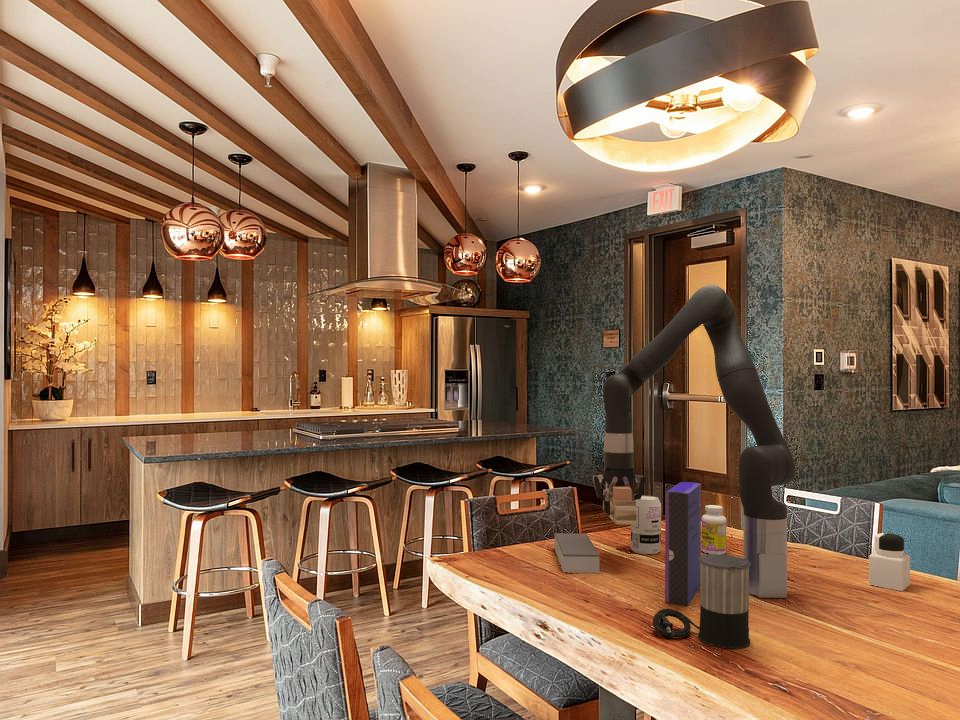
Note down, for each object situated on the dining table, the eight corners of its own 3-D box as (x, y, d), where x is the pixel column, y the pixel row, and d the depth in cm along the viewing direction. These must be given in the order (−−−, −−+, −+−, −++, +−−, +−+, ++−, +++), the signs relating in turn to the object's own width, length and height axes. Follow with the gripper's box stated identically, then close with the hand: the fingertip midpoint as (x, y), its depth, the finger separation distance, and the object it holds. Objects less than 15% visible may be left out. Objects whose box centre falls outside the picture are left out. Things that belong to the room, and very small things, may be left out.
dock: (599, 573, 175) (599, 554, 175) (563, 572, 175) (563, 554, 176) (586, 549, 199) (586, 533, 199) (554, 549, 199) (554, 533, 200)
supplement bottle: (696, 550, 199) (696, 505, 200) (714, 548, 202) (714, 503, 202) (713, 556, 193) (713, 509, 194) (731, 554, 196) (731, 507, 196)
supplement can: (637, 546, 204) (637, 494, 204) (665, 551, 199) (665, 497, 199) (626, 552, 197) (626, 498, 198) (654, 556, 192) (654, 501, 193)
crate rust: (631, 504, 177) (631, 489, 177) (615, 504, 177) (615, 488, 177) (628, 502, 181) (628, 486, 181) (612, 502, 181) (612, 486, 181)
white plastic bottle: (910, 585, 167) (910, 534, 168) (903, 591, 162) (902, 539, 162) (876, 579, 172) (876, 529, 173) (868, 585, 167) (868, 534, 167)
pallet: (636, 524, 175) (636, 501, 175) (616, 524, 175) (616, 501, 175) (621, 510, 195) (621, 489, 195) (603, 510, 195) (602, 489, 195)
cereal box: (680, 582, 168) (680, 481, 168) (700, 585, 166) (701, 482, 166) (665, 603, 152) (665, 491, 153) (687, 606, 150) (688, 493, 151)
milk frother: (762, 647, 127) (761, 564, 128) (685, 656, 123) (685, 570, 123) (714, 621, 141) (714, 546, 141) (644, 628, 137) (644, 551, 137)
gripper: (593, 451, 182) (593, 517, 182) (649, 451, 182) (649, 518, 181) (589, 448, 190) (589, 512, 189) (642, 449, 189) (643, 512, 189)
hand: (618, 514), depth 185 cm, fingers closed on pallet, 5 cm apart
